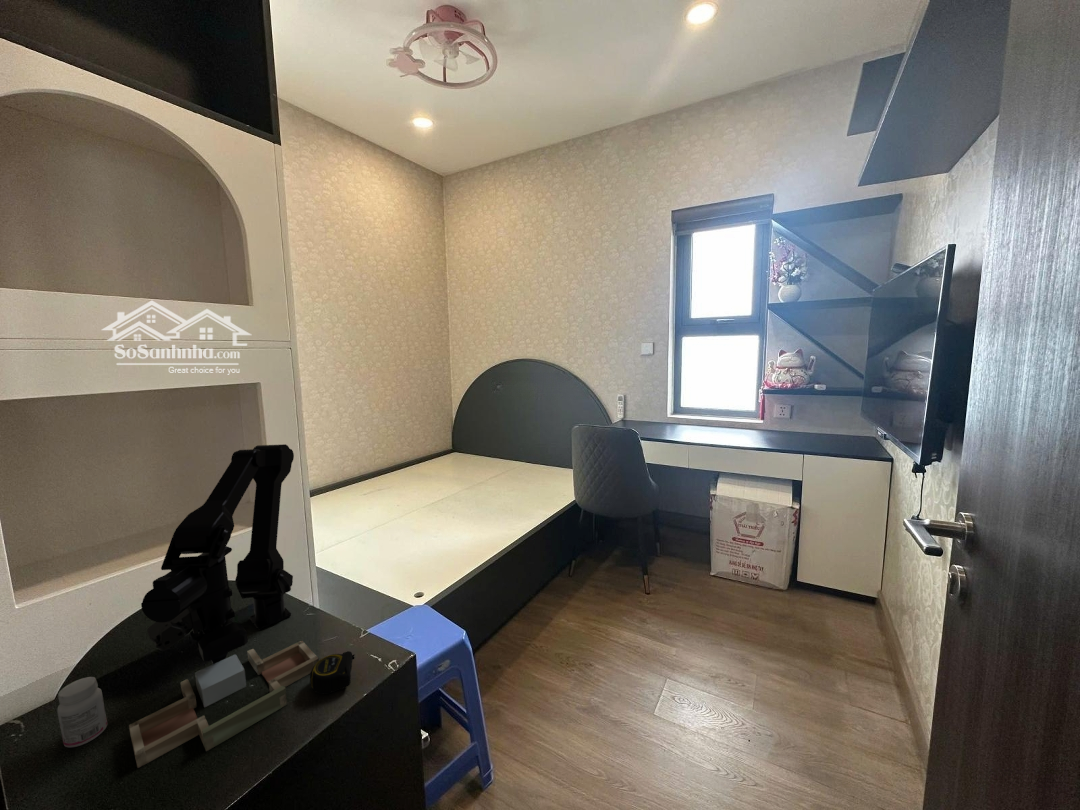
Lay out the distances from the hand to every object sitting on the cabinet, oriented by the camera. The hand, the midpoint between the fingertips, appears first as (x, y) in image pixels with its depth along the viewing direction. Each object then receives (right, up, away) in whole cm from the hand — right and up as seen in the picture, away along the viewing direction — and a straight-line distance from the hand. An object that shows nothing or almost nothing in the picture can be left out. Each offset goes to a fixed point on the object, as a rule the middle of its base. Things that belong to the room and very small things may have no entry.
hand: (218, 666), depth 78 cm
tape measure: (+23, -2, -2) cm, 23 cm away
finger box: (+7, -2, -6) cm, 9 cm away
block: (+3, -2, -3) cm, 5 cm away
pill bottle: (-12, -4, -12) cm, 17 cm away
